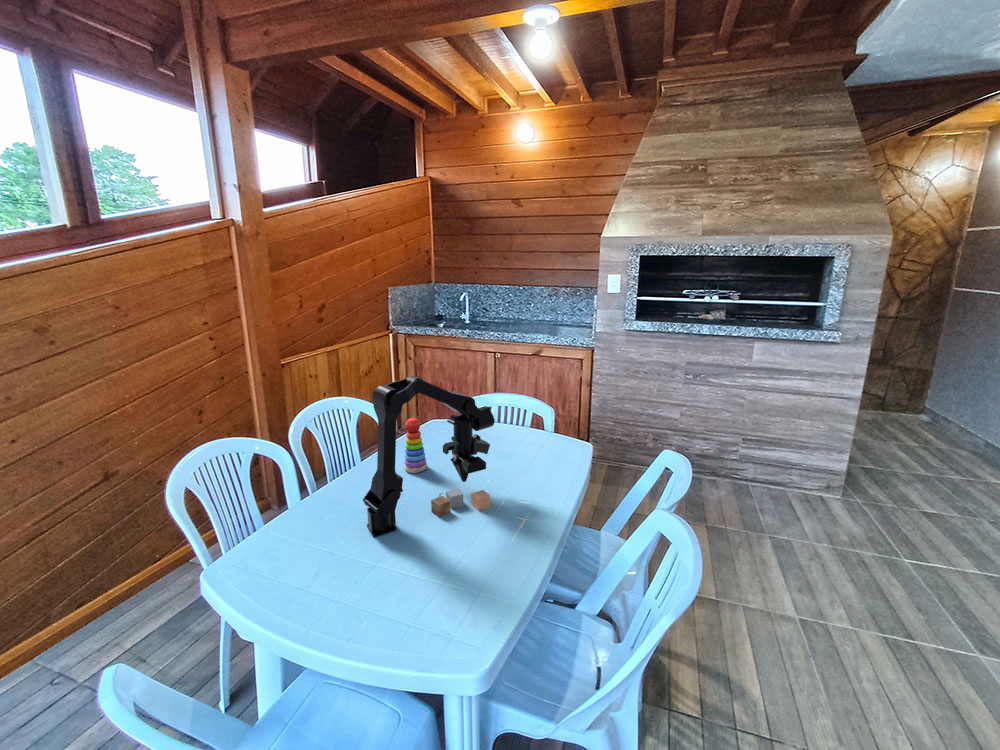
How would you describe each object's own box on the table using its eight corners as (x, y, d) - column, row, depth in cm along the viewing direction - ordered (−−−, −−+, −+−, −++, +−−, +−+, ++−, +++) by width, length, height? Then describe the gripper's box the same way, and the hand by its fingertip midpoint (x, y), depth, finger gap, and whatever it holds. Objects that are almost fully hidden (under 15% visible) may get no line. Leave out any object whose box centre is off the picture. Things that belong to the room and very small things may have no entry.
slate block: (451, 509, 141) (450, 497, 140) (446, 503, 144) (446, 491, 143) (463, 506, 143) (463, 494, 142) (458, 500, 146) (458, 488, 145)
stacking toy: (429, 464, 170) (427, 414, 166) (424, 474, 163) (421, 423, 158) (408, 463, 171) (405, 414, 166) (401, 473, 163) (398, 422, 159)
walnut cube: (439, 517, 136) (438, 505, 135) (431, 512, 139) (431, 500, 138) (450, 512, 139) (450, 500, 138) (442, 507, 142) (442, 495, 141)
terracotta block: (478, 511, 140) (477, 498, 139) (471, 505, 143) (471, 493, 142) (489, 507, 142) (489, 495, 141) (483, 501, 145) (483, 489, 144)
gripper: (501, 439, 140) (501, 487, 144) (472, 420, 156) (473, 464, 160) (468, 447, 135) (468, 496, 139) (441, 426, 150) (442, 472, 154)
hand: (464, 481), depth 148 cm, fingers closed
